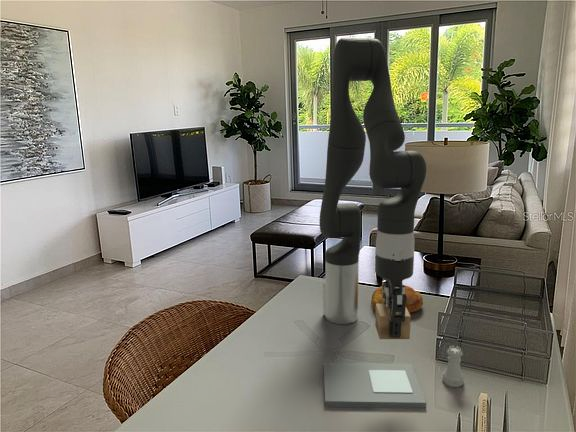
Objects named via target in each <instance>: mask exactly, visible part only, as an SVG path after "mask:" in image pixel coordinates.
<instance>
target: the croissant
mask: <svg viewBox="0 0 576 432" xmlns="http://www.w3.org/2000/svg"><path fill="white" fill-rule="evenodd" d="M404 285H405V294H406V296H407V299H406V308H407V310H408V312H409V314H410V313H414V312H417V311H419V310H420V309H421V308H422V307H423V305H424V301H423V296H422V294H421V293H420V292H419V291H416V290H415V289H414V288H413V287H411V286H409V285H406V284H404ZM383 300H384V298H382V285H381V286H378V287H377V289H375V290H374V291H373V293H372V295H371V300H370V303H371V306H372V308H373V309H374V311H376V304H384V303H383Z"/></svg>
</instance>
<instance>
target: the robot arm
mask: <svg viewBox="0 0 576 432" xmlns="http://www.w3.org/2000/svg"><path fill="white" fill-rule="evenodd" d="M387 58H388V57H387V55H386V49H385V47H384V45H383V42H381V41H380V40H379V39H377V38H370V37H364V38H363V37H362V38H361V37H342V38H339V39H338V40H337V42H336V44H335V46H334V51H333V59H332V87H331V88H332V93H331V94H332V95H331V113H330V123H329V124H330V125H329V132H328V140H327V141H328V142H327V148H326V149H327V151H326V167H325V181H324V189H323V194H322V200H321V203H320V204H321V205H320V206H321V207H320V211H319V230H320V233H321V236H322V237H324V238H326V239H338V238H342V239H341V240H340V241H339V242H338V243H336V244H335V245H332V246H330V247H329V248H327V249H326V250H325V253H324V254H325V256H324V257H325V258H324V259H325V267H324V268H325V270H324V271H325V283H323V285H322V289H323V291H322V295H323V297H322V304H323V305H322V307H323V308H322V314H323V316H324V317H325V319H326V320H327V321H328V322H330V323H333V324H337V325H348V324H353V323H355V322H357V320H358V318H359V316H358V315H359V314H358V313H359V268H360V267H359V264H360V263H359V261H360V260H359V259H360V257H359V256H360V251H361V237H362V223H363V222H362V212H361V209H360V206H359V205H358V204H357V203H355V202H354V203H353V202H348V203H347V202H346V203H339V201H340V197H341V195H342V192H343V191H344V189H345V188H346V187H347V185H348V184H349V182H350V181H352V179H353V177H354V176H355V175H356V174H357V172H358V171H359V169H360V168H361V166H362V164H363V161H364V156H365V149H366V143H367V138H368V143H369V151H370V152H369V155H370V158H369V160H370V161H369V168H368V169H369V178H370V181H371V182H372V184H373V185H374V186H375V187H377V188H378V189H382V190H384V189H385V190H386V189H387V190H389V189H400V190H399V191H398V193H397V194H396V196H394V197H391V198H387V199H385V200H382V201H380V202H379V204H378V207H377V226H376V227H377V228H376V236H375V255H374V257H375V258H374V260H375V261H374V272H375V274H376V275H377V277H380V278H382V283H381V286H382V298H384V300H383V303H384V304H386V307H387V308H388V309H389V319H390V322H389V335H390V337H391V338H399V337H400V336H401V322H404V321H405V309H406V299H407V296H406V294H405V285H406V284H403V281H404V280H406V279H407V280H408V279H410V278H411V277H413V275H414V265H415V263H414V261H415V231H414V230H415V213H416V207H417V204H418V202H419V198H420V195H421V191H422V189H423V185H424V183H425V180H426V176H427V163H426V161H425V158H424V156H423V155H422V154H421V153H420V152H419V151H416V150H404V151H403V150H399V149H400V148H401V147H402V146H403V145H404V143H405V139H406V138H405V137H406V135H405V131H404V128H403V125H402V123H401V120H400V117H399V114H398V111H397V109H396V108H397V107H396V105H395V102H394V96H393V91H392V84H391V76H390V71H389V64H388V59H387ZM368 81H370V82H371V84H372V85H373V88H372V91H371V93H370V95H369V97H368V99H367V101H366V103H365V105H364V108H363V109H364V110H363V112H362V114H363V115H362V117H363V118H362V119H363V125H364V126H363V125H362V123H361V121H360V118H359V117H358V114H356V111H355V109H354V107H353V104H352V101H351V98H350V88H349V87H350V82H368ZM366 136H367V137H366ZM397 150H399V151H397ZM395 312H399V314H395Z"/></svg>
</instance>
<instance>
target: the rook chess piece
mask: <svg viewBox="0 0 576 432" xmlns="http://www.w3.org/2000/svg"><path fill="white" fill-rule="evenodd" d="M446 354H447V355H448V356H447V361H448V363H447V366H446V368H445V370H444V371H443V372H442V381H443V383H444V384H445V385H446V386H448V387H451V388H459V387H462V386H463V385H464V379H465V377H464V374H463V372H462V370H461V362H462V358H461V357H462V356H463V355H464V353H463V351H462V348H461V347H459V346H455V345H450V346H449V347H448V349H447V350H446Z"/></svg>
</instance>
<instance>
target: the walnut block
mask: <svg viewBox="0 0 576 432" xmlns="http://www.w3.org/2000/svg"><path fill="white" fill-rule="evenodd" d="M395 314H399V312H395ZM411 317H412V316H411V314H410V313H409V312H408V310H407V308H406V309H405V321H404V322H401V336H400V337H399V338H391V337H390V335H389V322H390V319H389V309H388V308H387V307H386V304H376V310H375V318H374V319H375V321H374V322H375V324H374V325H375V329H376V332H377V335H378V339H379V340H410V339H411V319H412V318H411Z"/></svg>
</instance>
